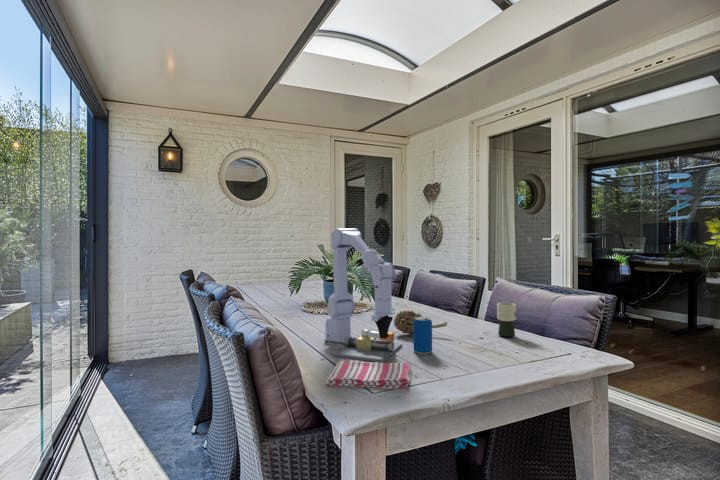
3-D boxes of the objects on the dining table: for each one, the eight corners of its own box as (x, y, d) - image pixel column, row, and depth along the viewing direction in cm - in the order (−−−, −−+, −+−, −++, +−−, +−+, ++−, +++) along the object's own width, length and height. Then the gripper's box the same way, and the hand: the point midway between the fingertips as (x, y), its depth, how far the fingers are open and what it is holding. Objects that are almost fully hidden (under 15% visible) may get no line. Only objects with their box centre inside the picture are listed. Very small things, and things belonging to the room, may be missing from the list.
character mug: (520, 340, 159) (520, 306, 159) (501, 339, 160) (501, 306, 159) (511, 332, 170) (511, 301, 170) (493, 332, 171) (493, 301, 170)
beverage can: (432, 355, 141) (431, 320, 141) (412, 354, 143) (412, 319, 142) (432, 350, 148) (432, 316, 147) (414, 349, 149) (414, 316, 149)
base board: (333, 356, 142) (333, 353, 142) (357, 341, 160) (357, 338, 160) (382, 362, 134) (382, 359, 134) (402, 346, 153) (402, 343, 152)
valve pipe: (343, 348, 149) (343, 337, 148) (349, 345, 153) (348, 334, 153) (390, 354, 141) (390, 342, 141) (395, 350, 146) (395, 338, 145)
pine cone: (392, 337, 165) (392, 312, 165) (394, 331, 175) (394, 308, 174) (449, 339, 162) (449, 314, 161) (447, 333, 171) (447, 309, 171)
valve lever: (360, 337, 147) (359, 330, 147) (364, 335, 150) (364, 328, 150) (390, 341, 141) (390, 334, 140) (394, 339, 143) (394, 332, 143)
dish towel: (409, 391, 112) (409, 378, 112) (325, 387, 115) (324, 375, 115) (410, 370, 129) (410, 358, 129) (337, 367, 132) (337, 356, 132)
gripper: (385, 302, 133) (385, 344, 133) (401, 296, 146) (402, 334, 146) (365, 301, 136) (366, 342, 136) (383, 294, 149) (383, 332, 149)
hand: (383, 338), depth 141 cm, fingers closed
